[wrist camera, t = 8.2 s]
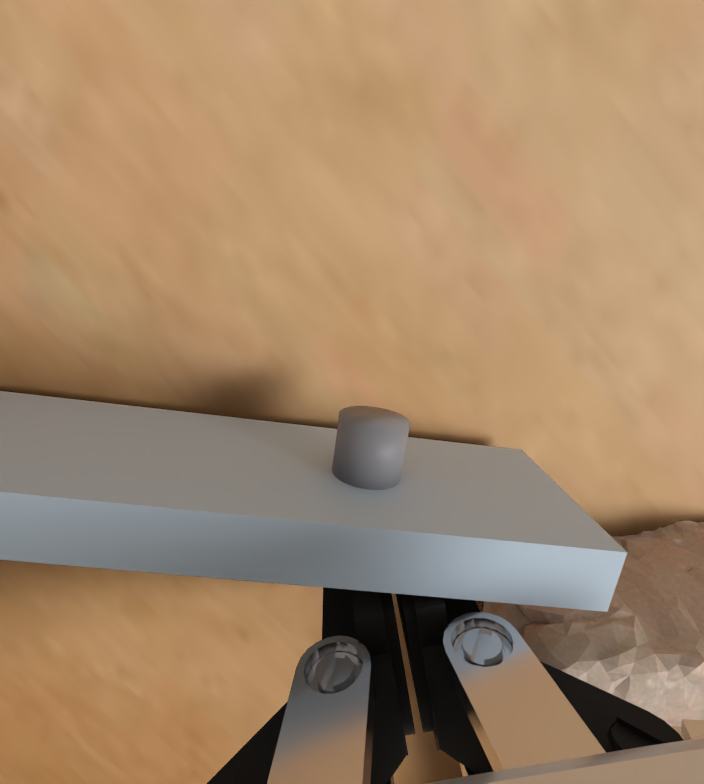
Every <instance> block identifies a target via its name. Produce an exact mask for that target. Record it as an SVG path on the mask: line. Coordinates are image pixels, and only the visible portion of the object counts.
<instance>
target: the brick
mask: <svg viewBox="0 0 704 784" xmlns="http://www.w3.org/2000/svg"><path fill="white" fill-rule="evenodd" d="M612 538H613V539H614V540H615V541H616V542H617V543H618V544H619V545H620V546H621V547H622V548H623V549H624V550H625V551H626V552H627V555H626V558H625V561H624V564H623V567H622V570H621V573H620V576H619V579H618V582H617V585H616V588H615V591H614V594H613V597H612V600H611V602H610V605H609V608H608V611H607V612H605V611H593V610H581V609H570V608H558V607H546V606H535V605H523V604H511V603H500V602H488V601H483V603H484V606H483V610H482V612H483V613H490V614H493V615H497V616H499V617H501V618H503V619H505V620H506V621H508V622H509V623H510V624H511V625H512V626H513V627H514V628H515V629H516V630H517V631H518V632H519V634H520V635H521V637H522V638H523V639H524V641H525V642H526V643H527V645H528V646H529V647H530V649H531V650H532V652H533V653H534V654H535V656H536V657H537V658H538V660H539V661H542V662H544V663H546V664H548V665H550V666H552V667H554V668H557V669H559V670H561V671H563V672H565V673H567V674H569V675H572V676H574V677H576V678H578V679H580V680H582V681H584V682H587V683H589V684H591V685H593V686H595V687H597V688H599V689H602V690H604V691H606V692H608V693H610V694H612V695H614V696H617V697H619V698H621V699H623V700H625V701H627V702H630V703H632V704H634V705H636V706H638V707H640V708H642V709H645V710H647V711H649V712H650V713H652V714H654V715H656V716H657V717H659V718H661V719H662V720H664V721H665V722H666V723H668V724H669V725H670V726H678V727H681V724H682V719H689V720H704V521H703V522H698V523H697V522H694V521H691V520H688V521H678V522H674V523H673V524H670V525H668V526H665V527H659V528H657V529H656V530H654V531H642V532H641V533H639V534H637V535H626V536H612Z"/></svg>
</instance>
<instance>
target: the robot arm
mask: <svg viewBox="0 0 704 784" xmlns="http://www.w3.org/2000/svg"><path fill="white" fill-rule="evenodd" d="M396 596H397V602H398V607H399V612H400V617H401V622H402V627H403V632H404V637H405V642H406V647H407V652H408V657H409V662H410V667H411V672H412V677H413V682H414V687H415V692H416V697H417V702H418V707H419V712H420V717H421V722H422V727H423V732H428V731H434V736H435V740H436V745H437V749H438V750H443V751H444V752H446V753H447V754H448V755H450V756H451V757H453V758H454V759H455V760H457V761H458V762H460V768H461V772H462V776H463V777H458V778H452V779H446V780H441V781H435V782H429V783H423V784H704V720H689V719H682V724H681V727H678V726H670V725H669V724H668V723H666V722H665V721H664V720H662V719H661V718H659V717H657V716H656V715H654V714H652V713H650V712H649V711H647V710H645V709H642V708H640V707H638V706H636V705H634V704H632V703H630V702H627V701H625V700H623V699H621V698H619V697H617V696H614V695H612V694H610V693H608V692H606V691H604V690H602V689H599V688H597V687H595V686H593V685H591V684H589V683H587V682H584V681H582V680H580V679H578V678H576V677H574V676H572V675H569V674H567V673H565V672H563V671H561V670H559V669H557V668H554V667H552V666H550V665H548V664H546V663H544V662H542V661H539V660H538V658H537V657H536V656H535V654H534V653H533V652H532V650H531V649H530V647H529V646H528V645H527V643H526V642H525V641H524V639H523V638H522V637H521V635H520V634H519V632H518V631H517V630H516V629H515V628H514V627H513V626H512V625H511V624H510V623H509V622H508V621H506V620H505V619H503V618H501V617H499V616H497V615H493V614H490V613H483V612H480V611H479V608H478V606H477V604H476V602H475V600H465V599H453V598H441V597H430V596H418V595H406V594H396ZM410 734H415V729H414V723H413V717H412V712H411V706H410V700H409V694H408V688H407V682H406V676H405V670H404V664H403V659H402V653H401V647H400V641H399V635H398V629H397V623H396V618H395V612H394V606H393V601H392V595H391V593H383V592H371V591H360V590H348V589H336V588H325V587H323V625H322V640H321V641H318V642H316V643H315V644H314V645H312V646H311V647H310V648H308V649H307V651H306V652H305V653H304V654H303V655H302V657H301V658H300V660H299V663H298V665H297V667H296V671H295V675H294V679H293V683H292V687H291V691H290V695H289V699H288V702H287V703H286V704H285V705H284V706H283V707H282V708H281V709H280V710H279V711H278V712H277V713H276V714H275V715H274V716H273V717H272V718H271V719H270V720H269V721H268V722H267V723H266V724H265V725H264V726H263V727H262V728H261V729H260V730H259V731H258V732H257V733H256V734H255V735H254V736H253V737H252V738H251V739H250V740H249V741H248V742H247V743H246V744H245V745H244V746H243V747H242V748H241V749H240V750H239V751H238V753H237V754H236V755H235V756H234V757H233V758H232V759H231V760H230V761H229V762H228V763H227V764H226V765H225V766H224V767H223V768H222V769H221V770H220V771H219V772H218V773H217V774H216V775H215V776H214V777H213V778H212V779H211V780H210V781H209V782H208V783H207V784H394V777H393V774H394V773H395V771H396V770H397V768H398V767H399V765H400V764H401V762H402V761H403V759H404V758H405V757H406V755H408V751H407V745H406V738H405V735H410Z"/></svg>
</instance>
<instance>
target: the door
mask: <svg viewBox="0 0 704 784" xmlns="http://www.w3.org/2000/svg"><path fill="white" fill-rule="evenodd" d="M409 428H410V421H409V420H408V419H407V418H406V417H404V416H403V415H401V414H398V413H396V412H393V411H390V410H386V409H382V408H376V407H368V406H353V407H347V408H344V409H342V410H341V411H340V413H339V420H338V427H337V429H333V428H324V427H315V426H306V425H298V424H289V423H280V422H271V421H262V420H253V419H244V418H236V417H227V416H218V415H209V414H200V413H191V412H183V411H174V410H165V409H156V408H147V407H138V406H129V405H121V404H112V403H103V402H94V401H85V400H76V399H67V398H59V397H50V396H41V395H32V394H23V393H14V392H5V391H0V560H10V561H22V562H33V563H45V564H57V565H68V566H80V567H92V568H103V569H115V570H127V571H138V572H150V573H162V574H173V575H185V576H197V577H208V578H220V579H232V580H243V581H255V582H267V583H278V584H290V585H302V586H313V587H325V588H336V589H348V590H360V591H371V592H383V593H395V594H406V595H418V596H430V597H441V598H453V599H465V600H476V601H488V602H500V603H511V604H523V605H535V606H546V607H558V608H570V609H581V610H593V611H605V612H607V611H608V608H609V605H610V602H611V600H612V597H613V594H614V591H615V588H616V585H617V582H618V579H619V576H620V573H621V570H622V567H623V564H624V561H625V558H626V555H627V552H626V551H625V550H624V549H623V548H622V547H621V546H620V545H619V544H618V543H617V542H616V541H615V540H614V539H613V538H612V537H611V536H610V535H609V534H608V533H607V532H606V531H605V530H604V529H603V528H602V527H601V526H600V525H599V524H598V523H597V522H596V521H595V520H594V519H592V518H591V517H590V516H589V515H588V514H587V513H586V512H585V511H584V510H583V509H582V508H581V507H580V506H579V505H578V504H577V503H576V502H575V501H574V500H573V499H572V498H571V497H570V496H569V495H568V494H567V493H566V492H565V491H564V490H563V489H562V488H561V487H560V486H558V485H557V484H556V483H555V482H554V481H553V480H552V479H551V478H550V477H549V476H548V475H547V474H546V473H545V472H544V471H543V470H542V469H541V468H540V467H539V466H538V465H537V464H536V463H535V462H534V461H533V460H532V459H531V458H530V457H529V456H528V455H527V454H526V453H524V452H523V451H522V450H519V449H510V448H501V447H492V446H484V445H475V444H466V443H457V442H448V441H439V440H430V439H422V438H413V437H408V433H409Z"/></svg>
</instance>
